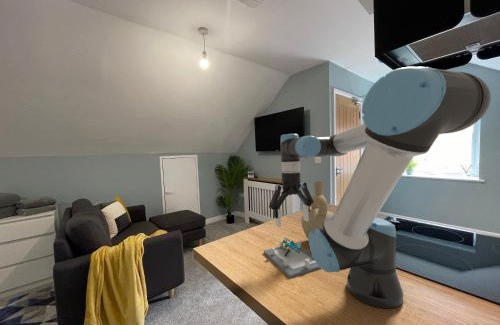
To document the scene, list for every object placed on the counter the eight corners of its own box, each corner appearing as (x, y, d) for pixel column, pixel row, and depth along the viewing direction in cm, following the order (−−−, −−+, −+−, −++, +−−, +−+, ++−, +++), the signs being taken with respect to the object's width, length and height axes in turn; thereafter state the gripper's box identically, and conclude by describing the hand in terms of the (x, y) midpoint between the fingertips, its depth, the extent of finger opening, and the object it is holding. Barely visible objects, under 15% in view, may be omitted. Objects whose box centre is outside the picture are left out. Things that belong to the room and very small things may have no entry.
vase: (344, 250, 93) (343, 184, 91) (307, 252, 93) (305, 185, 91) (329, 235, 110) (328, 179, 108) (298, 237, 110) (296, 180, 108)
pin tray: (327, 266, 81) (326, 256, 80) (289, 278, 74) (289, 267, 74) (295, 245, 100) (295, 236, 100) (263, 253, 94) (263, 243, 93)
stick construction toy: (305, 249, 85) (291, 236, 85) (296, 264, 83) (282, 251, 83) (292, 246, 96) (279, 235, 96) (284, 259, 94) (271, 248, 94)
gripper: (309, 169, 94) (311, 216, 94) (259, 173, 84) (261, 225, 85) (321, 170, 87) (322, 220, 87) (268, 174, 77) (270, 231, 78)
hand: (292, 223), depth 86 cm, fingers open, 13 cm apart
